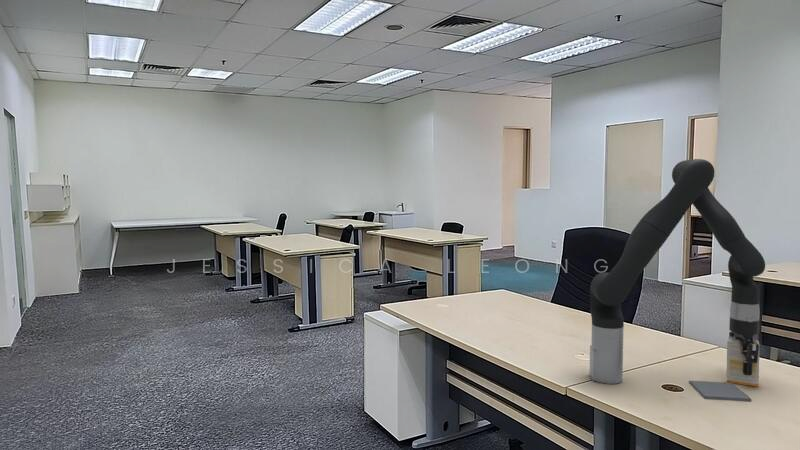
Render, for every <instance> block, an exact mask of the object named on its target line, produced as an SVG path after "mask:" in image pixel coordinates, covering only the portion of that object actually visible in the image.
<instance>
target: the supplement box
mask: <svg viewBox="0 0 800 450" xmlns="http://www.w3.org/2000/svg"><path fill="white" fill-rule="evenodd" d="M726 340H727V341H726V342H727V343H726V382H729V383H733V384H737V385H738V384H740V385H745V386H751V387H755V388H756V387H759V378H760V376H759V373H760V350H759V351H758V360H757V363H753V364H752V375H744V374H743V362H744V361H743V356H742V355H741V354H740V345H739V342H738V341H737V340H735V339H733V338H730V337H729V336H728V337H727V339H726ZM753 341H754V344H758V345H759V349H760V347H761V346H760V342H759V340H754V339H753ZM742 344H743V343H742ZM744 352H747V350H744ZM753 357H754V356H753ZM746 358H747V355H746Z"/></svg>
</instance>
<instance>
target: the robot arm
mask: <svg viewBox="0 0 800 450" xmlns="http://www.w3.org/2000/svg"><path fill="white" fill-rule="evenodd" d="M671 177H672V181H673V183H674V184H673V186H672V188H671V189H670V190H669V192H668V193H667V194H666V195H665V196H664V197H663V198H662V199H661V200H660V201H659V202H658V203H656V204H655V205H654V206H653V207H652V208H651V209H648V211H647V212H646V213H645V214H644V215H643V216H642V217H641V219H640V220H639V221H638V223H636V225H635V227H634V228H633V230H632V231H631V233H630V234H629V237H628V238H627V241H626V244H625V246H624V248H623V249H624V250H623V252H622V255H620V258H619V260H618V261H617V263H616V264H615V265H614V267H612V269H611V270H610V271H609V272H599V273H598V274H596V275H595V276H594V277H593V279H592V280H591V282H590V288H589V305H590V306H589V307H590V316H591V345H589V376H590V378H591V380H592V381H593V382H597V383H602V384H608V385H609V384H612V385H613V384H620V383H622V382H623V376H624V374H623V373H624V372H623V371H624V368H623V365H624V329H625V328H624V325H625V323H624V322H625V320H624V316H623V312H622V308H621V304H622V303H623V302H624V301H625V300H626V298H627V297H628V295H629V294H630V292H631V290H632V288H633V286H634V285H635V284H636V281H637V280H638V278H639V277H640V275H641V273H643V271H644V270H645V268H646V267H647V266H648V264H649V263H650V262H651V261H652V259H653V258H654V256H655V255H656V254H657V253H658V252H659V250H660V249H661V248H662V246H663V245H664V244H665V242H666V241H667V240H668V238H669V237H670V236H671V234H672V232H674V230H675V228H676V227H677V225H678V224H679V223H680V221H682V219H683V217H684V216H685V214H686V213H687V211H688V210H689V209H690V207H691V206H692V205H693V206H694V208H695V210H696V211H698V213H699V215H700V216H701V218H702V219H703V220H704V222H705V223H706V225H707V226H708V228H709V229H710V231H711V233H712V235H713V236H714V238H715V240H716V241H717V243H718V245H719V246H720V247H721V248H722V249H723V250H724V251H726V252H728V253H729V254H730V257H729V259H728V261H727V262H728V263H727V269H728V275H729V281H730V284H731V298H730V299H731V301H730V302H731V303H730V306H729V308H730V309H729V327H728V328H729V332H728V334H729V336H728V337H730V338H733V339H735V340H737V341H738V342H739V345H740V354H741V355H742V356H743V361H744V362H743V374H744V375H752V364H753V363H757V360H758V351H759V352H760V348H759V345H760V344H759V345H758V344H754V341H753V340H754V336H757V335H758V334H759V333H760V311H761V310H760V288H759V285H758V284H757V283H755V281H754V277H758V276H761V275H762V274H763V273H764V272H765V270H766V269H765V268H766V261H765V259H764V257H763V255H762V253H761V252H760V251H759V250H758V248H757V247H756V246H755V245H754V244H753V243H752V242H751V241H750V240H749V239H748V238H747V237H746V235H745V233H744V232H743V230H742V228H741V227H740V225H739V223H738V222H737V221H736V218H734V217H733V215H732V214H731V213H730V212H729V210H728V209H726V208H725V207H724V206H723V205H722V204H721V203H720V201H719V200H717V198H716V197H715V196H714V194H713V193H712V192H711V190H710V189H709V187H710V185H711V184H712V182H713V180H714V178H715V168H714V165H713V164H712V163H711V162H710V161H709V160H706V159H701V158H694V159H686V160H682V161H680V162H677V163H676V164H675V165H674V167H673V168H672V172H671ZM742 343H743V344H742ZM744 350H747V352H744ZM746 355H747V358H746ZM753 356H754V357H753Z"/></svg>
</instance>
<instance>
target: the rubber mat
mask: <svg viewBox="0 0 800 450" xmlns="http://www.w3.org/2000/svg"><path fill="white" fill-rule="evenodd" d="M688 384H689V385H690V386H692V388H694V390H695V391H696V392H697V393H698V394H699V395H700V396H701V397H702V398H703V399H704V400H717V401H718V400H720V401H721V400H722V401H736V402H737V401H739V402H752V398H751V397H750V396H749V395H748V394H746V392H744V391H743V390H741V388H739V387H738V386H737V385H736V384H735V383H730V382H727V381H726V382H725V381H724V382H723V381H707V380H706V381H703V380H688Z"/></svg>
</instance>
